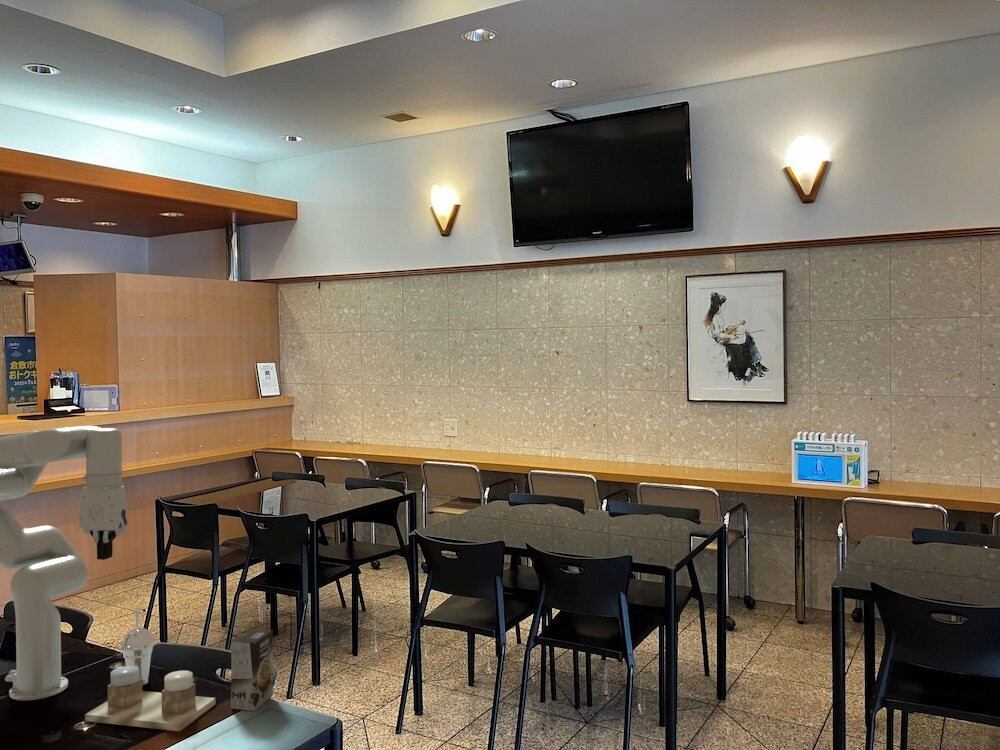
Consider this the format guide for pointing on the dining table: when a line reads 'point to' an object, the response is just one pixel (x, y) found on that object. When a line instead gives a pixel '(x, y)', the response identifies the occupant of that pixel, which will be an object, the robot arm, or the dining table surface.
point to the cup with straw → (138, 648)
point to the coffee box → (251, 669)
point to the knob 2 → (178, 680)
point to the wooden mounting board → (150, 707)
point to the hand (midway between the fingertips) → (104, 558)
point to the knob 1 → (124, 675)
